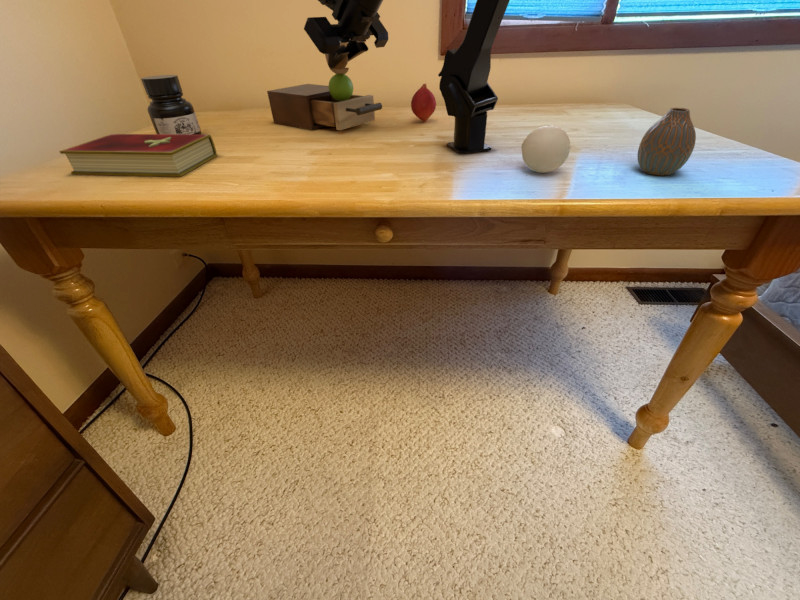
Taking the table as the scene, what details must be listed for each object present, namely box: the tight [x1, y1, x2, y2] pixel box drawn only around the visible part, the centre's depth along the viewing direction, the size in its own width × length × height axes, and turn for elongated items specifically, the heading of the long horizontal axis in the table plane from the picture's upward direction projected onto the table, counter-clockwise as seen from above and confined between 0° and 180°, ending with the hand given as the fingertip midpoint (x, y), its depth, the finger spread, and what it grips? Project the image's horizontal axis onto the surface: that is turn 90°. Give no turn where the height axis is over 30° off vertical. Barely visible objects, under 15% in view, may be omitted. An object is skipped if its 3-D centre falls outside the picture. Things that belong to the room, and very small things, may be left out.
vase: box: [637, 107, 697, 176], centre depth 56 cm, size 7×7×9 cm
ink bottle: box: [140, 74, 202, 135], centre depth 82 cm, size 10×9×12 cm
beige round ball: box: [521, 125, 571, 174], centre depth 59 cm, size 7×7×7 cm
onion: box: [410, 83, 437, 122], centre depth 89 cm, size 6×6×8 cm
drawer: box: [310, 94, 383, 131], centre depth 87 cm, size 18×11×5 cm, turn 51°
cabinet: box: [266, 83, 331, 131], centre depth 93 cm, size 15×13×7 cm
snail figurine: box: [324, 54, 354, 101], centre depth 83 cm, size 5×6×12 cm
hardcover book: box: [59, 133, 218, 178], centre depth 69 cm, size 12×21×4 cm, turn 82°
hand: (333, 66), depth 83 cm, fingers closed on snail figurine
